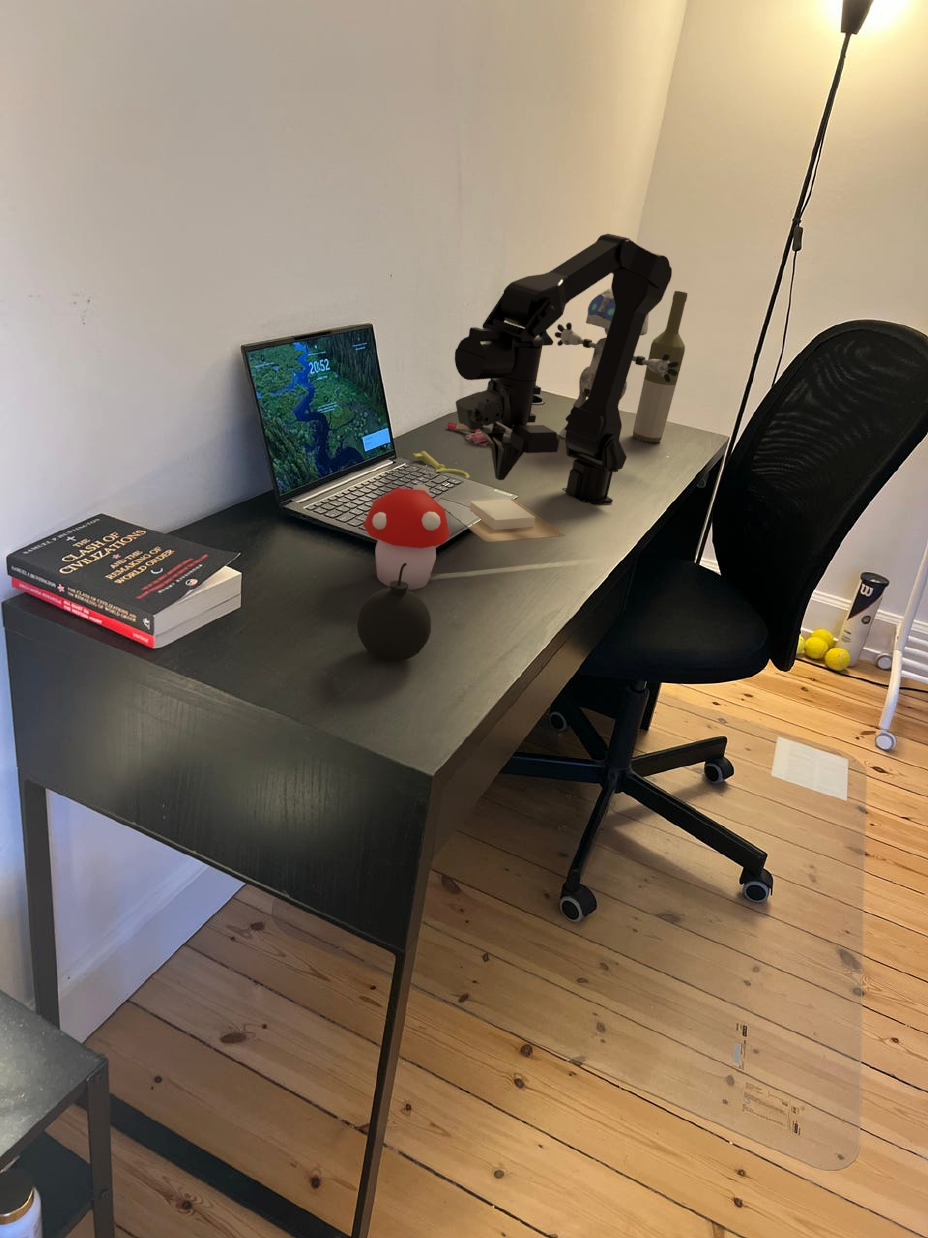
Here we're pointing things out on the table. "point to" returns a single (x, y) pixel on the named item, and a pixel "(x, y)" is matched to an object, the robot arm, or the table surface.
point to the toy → (472, 437)
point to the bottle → (655, 387)
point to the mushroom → (406, 534)
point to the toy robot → (602, 316)
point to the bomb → (394, 623)
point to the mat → (516, 530)
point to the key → (437, 467)
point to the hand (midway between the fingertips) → (499, 479)
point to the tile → (502, 514)
